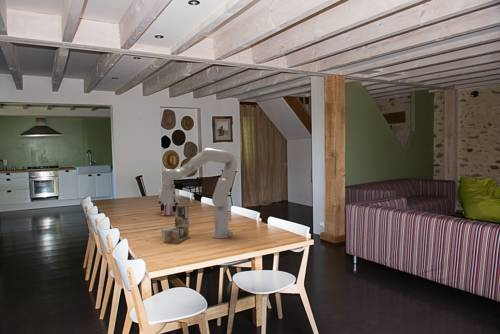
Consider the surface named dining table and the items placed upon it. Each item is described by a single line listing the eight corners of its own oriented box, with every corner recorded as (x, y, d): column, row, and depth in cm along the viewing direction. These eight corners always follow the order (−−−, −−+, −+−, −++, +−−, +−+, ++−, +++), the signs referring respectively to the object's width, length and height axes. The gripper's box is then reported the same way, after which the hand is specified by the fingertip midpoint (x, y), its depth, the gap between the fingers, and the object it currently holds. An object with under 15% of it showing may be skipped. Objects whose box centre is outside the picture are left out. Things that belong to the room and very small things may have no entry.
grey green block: (177, 235, 260) (176, 226, 260) (169, 238, 251) (168, 230, 251) (169, 234, 262) (169, 226, 262) (161, 238, 253) (161, 229, 253)
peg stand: (190, 238, 251) (189, 226, 251) (178, 244, 236) (177, 232, 236) (176, 236, 255) (176, 225, 254) (163, 242, 240) (163, 230, 239)
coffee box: (189, 226, 288) (188, 205, 287) (185, 228, 282) (185, 207, 281) (178, 225, 291) (178, 205, 290) (174, 227, 284) (174, 206, 283)
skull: (156, 214, 340) (155, 189, 339) (175, 212, 349) (175, 188, 348) (163, 218, 318) (162, 192, 317) (184, 216, 327) (183, 191, 326)
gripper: (181, 186, 255) (182, 210, 256) (160, 185, 261) (161, 209, 262) (176, 187, 248) (176, 212, 249) (154, 186, 254) (154, 211, 255)
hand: (168, 211), depth 256 cm, fingers open, 9 cm apart
